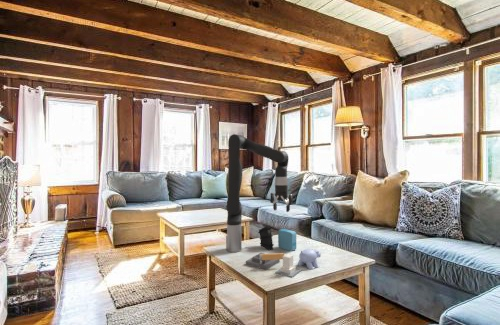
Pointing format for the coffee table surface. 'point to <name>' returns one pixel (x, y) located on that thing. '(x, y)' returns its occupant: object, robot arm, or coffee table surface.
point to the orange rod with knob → (271, 256)
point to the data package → (287, 239)
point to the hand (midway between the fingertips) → (281, 210)
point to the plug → (288, 264)
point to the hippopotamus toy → (309, 258)
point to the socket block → (261, 262)
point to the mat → (287, 273)
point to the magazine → (266, 238)
